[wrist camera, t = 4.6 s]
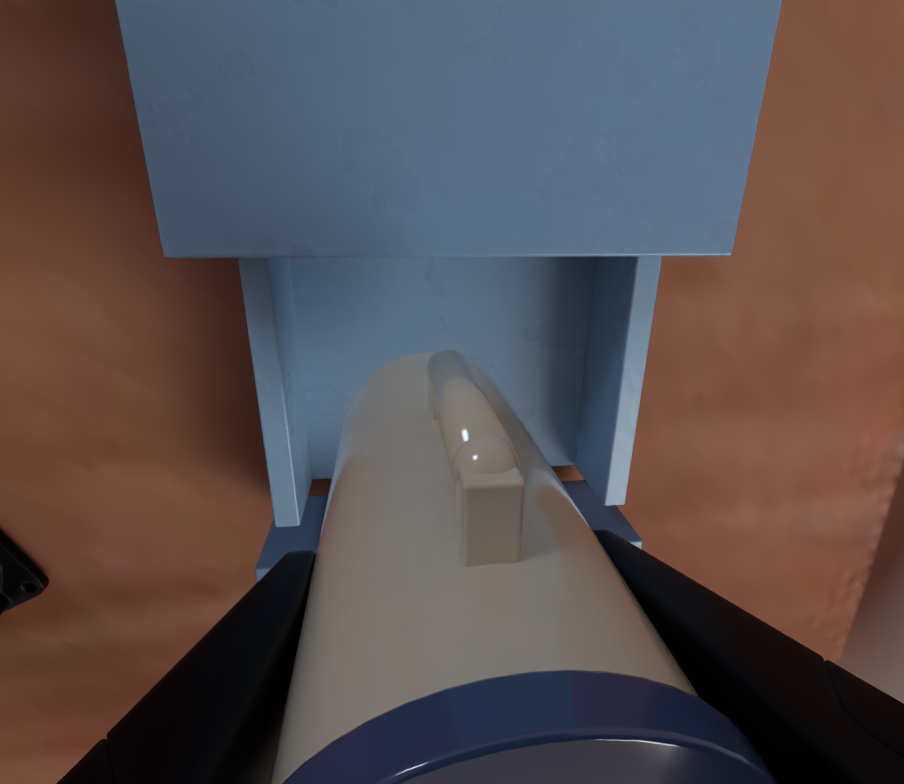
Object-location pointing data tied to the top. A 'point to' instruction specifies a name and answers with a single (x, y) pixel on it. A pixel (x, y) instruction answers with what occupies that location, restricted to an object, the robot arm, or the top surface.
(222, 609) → the top surface
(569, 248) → the cabinet
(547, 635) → the blue-lidded canister
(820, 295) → the top surface
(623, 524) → the drawer
